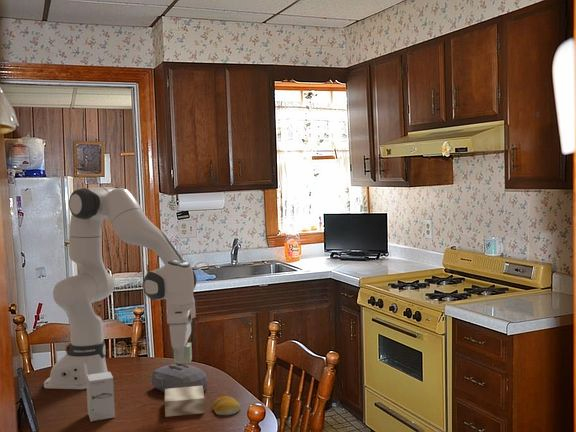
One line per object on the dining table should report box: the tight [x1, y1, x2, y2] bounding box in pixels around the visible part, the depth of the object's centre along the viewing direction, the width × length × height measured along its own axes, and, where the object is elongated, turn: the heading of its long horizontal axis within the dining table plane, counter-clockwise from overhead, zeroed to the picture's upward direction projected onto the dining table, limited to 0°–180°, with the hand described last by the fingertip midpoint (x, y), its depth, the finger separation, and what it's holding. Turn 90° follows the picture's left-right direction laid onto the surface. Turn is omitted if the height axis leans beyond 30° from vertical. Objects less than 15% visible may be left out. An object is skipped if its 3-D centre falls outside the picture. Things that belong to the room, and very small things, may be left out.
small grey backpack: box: [150, 363, 209, 393], centre depth 217 cm, size 15×8×20 cm
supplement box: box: [86, 371, 116, 423], centre depth 194 cm, size 7×7×13 cm
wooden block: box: [164, 386, 206, 418], centre depth 199 cm, size 12×12×5 cm
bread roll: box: [212, 395, 241, 416], centre depth 196 cm, size 8×9×4 cm
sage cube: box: [172, 342, 193, 364], centre depth 198 cm, size 5×5×5 cm
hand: (182, 355), depth 198 cm, fingers closed on sage cube, 5 cm apart
